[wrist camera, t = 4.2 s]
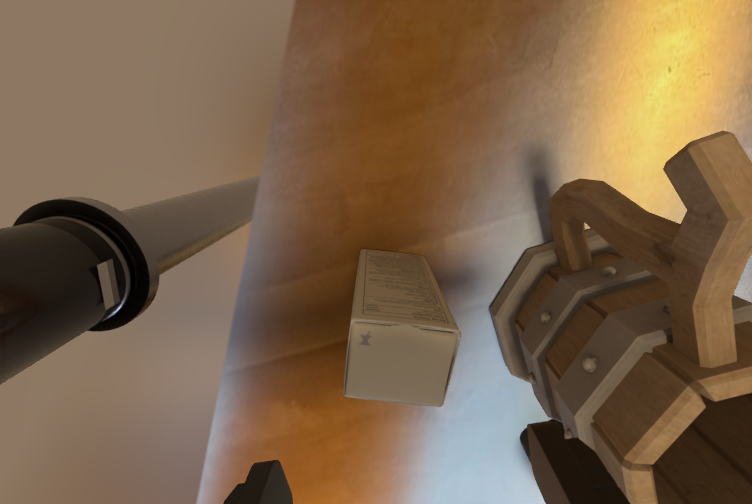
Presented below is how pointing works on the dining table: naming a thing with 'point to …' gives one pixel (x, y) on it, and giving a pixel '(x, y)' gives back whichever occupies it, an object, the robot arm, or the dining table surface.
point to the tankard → (645, 329)
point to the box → (399, 332)
